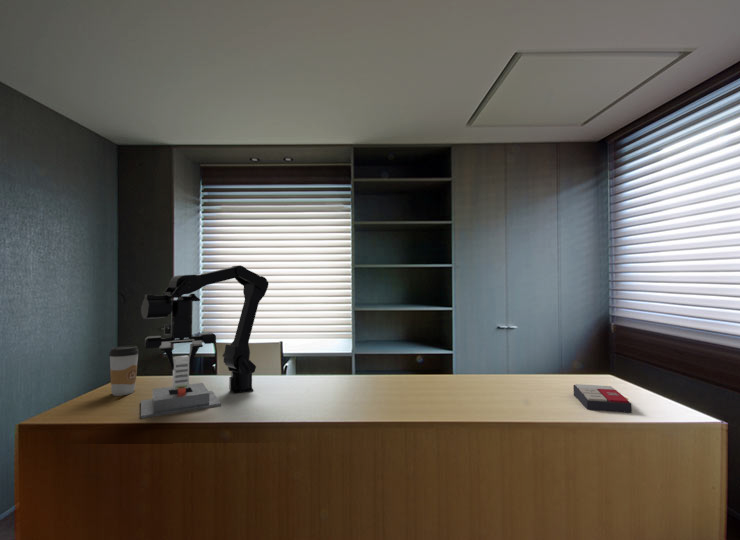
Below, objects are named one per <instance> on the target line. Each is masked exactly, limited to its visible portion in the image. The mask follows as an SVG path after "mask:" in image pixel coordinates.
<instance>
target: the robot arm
mask: <svg viewBox="0 0 740 540" xmlns="http://www.w3.org/2000/svg"><path fill="white" fill-rule="evenodd" d="M232 279H235V280H236V281H237V282H238V283H239V284H240V285H241V286H242V287H243V291H242V292H243V296H244V298H243V299H244V302H243V306H242V309H241V312H240V315H239V316H240V317H239V321H238V322H237V323H238V324H237V327H236V331H235V335H234V339H233V341H232V342H231V343H230V344H226V345H225V348H224V352H223V354H222V357H223V363H224V365H225V366H226V367H227V369H228V371H229V372H231V373H230V376H229V378H228V379H229V382H228V387H229V388H228V389H229V391H231V392H232V393H233V394H239V393H240V394H241V393H246V392H252V391H253V392H254V388H253V374H254V373H255V371H256V368H257V365H255V364H254V362H252V360H250V356H251V355H250V354H251V350H250V343H249V341H250V339H251V338H250V337H251V334H252V330H253V326H254V322H255V319H256V315H257V312H258V311H257V310H258V307H259V304H260V302H261V300H262V299H263V298H264V297H265V295H266V293H267V290H268V288H269V281H268V280H267V279H268V278H266V277H265V276H263V275H259V274H258V273H256V272H253V271H252V270H250V269H247V268H246V267H245V266H243V265H233V266H230V267H227V268H222V269H216V270H212V271H209V272H203V273H200V274H199V273H198V274H184V275H182V274H181V275H175V276H172V277H171V279H170V280H169V283H168V287H166V289H165V290H164V291H163V292H162V294H161V295H159V294H155V295H154V294H144V299H143V301H142V304H141V306H140V313H141V317H142V318H143V320H148V319H165V318H168V317H169V315H171V316H170V317H171V318H170V323H164V327H163V328H164V329H163V335H164V336H169V337H163V338H162V336H161V335H149V336H147V337H146V338H145V339H144V348H145V349H156V348H159V350H160V351H164V353H165V355H166V356H167V359H168V362H169V365H170V368H171V371H173V370H174V362H173V357H174V355H173V348H172V344H175V345H176V344H185V343H187V344H189V354H188V356H189V369H191V366H192V365H193V362H194V359H195V357H196V354H197V352H198V351H199V349H200V348H203V347H204V345H209V344H217V335H216V334H215V333H213V332H201V333H199V335H193V310H194V309H193V307H194V306H193V305H194V303H193V302H201V301H200V300H201V299H200V298H199V297H198V295H197V296H196V294H195V293H194V292H196V291H199V290H200V289H203V288H204V287H206V286H208V285H209V286H210V285H213V284H217V283H220V282H225V281H229V280H232ZM203 343H204V345H203Z"/></svg>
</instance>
